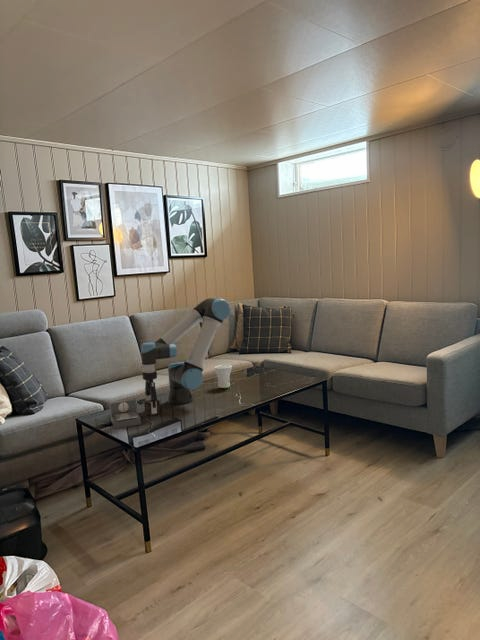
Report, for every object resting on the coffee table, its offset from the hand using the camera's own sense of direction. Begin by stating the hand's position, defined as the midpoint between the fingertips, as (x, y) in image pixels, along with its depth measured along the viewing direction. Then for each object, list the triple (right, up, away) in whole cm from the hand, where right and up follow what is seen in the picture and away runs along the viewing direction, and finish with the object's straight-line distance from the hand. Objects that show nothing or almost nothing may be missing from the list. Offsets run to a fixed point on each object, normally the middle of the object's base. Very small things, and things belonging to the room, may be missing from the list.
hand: (151, 410), depth 256 cm
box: (0, -2, 0) cm, 2 cm away
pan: (-11, -1, -14) cm, 18 cm away
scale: (-11, -4, -13) cm, 17 cm away
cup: (+38, +5, +50) cm, 62 cm away
